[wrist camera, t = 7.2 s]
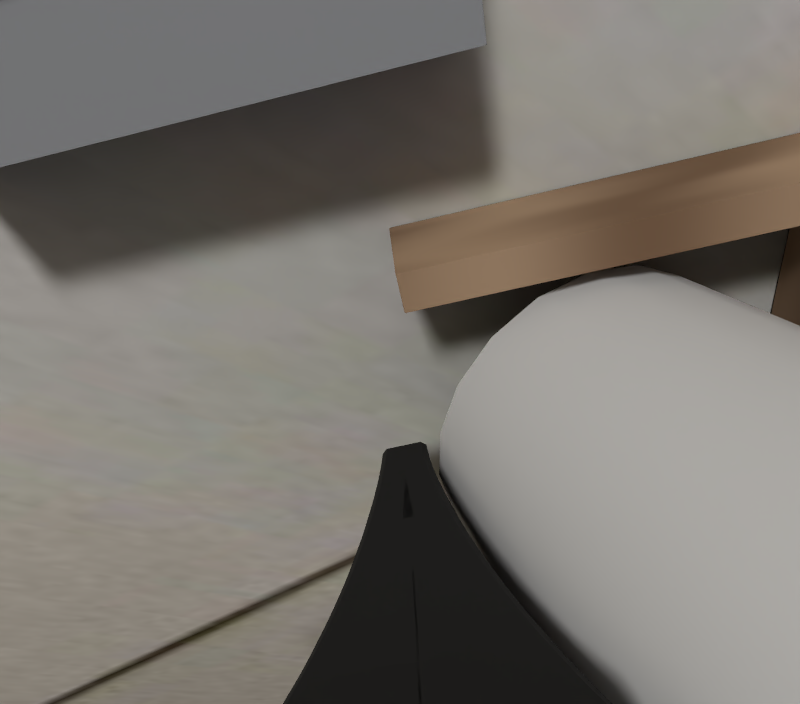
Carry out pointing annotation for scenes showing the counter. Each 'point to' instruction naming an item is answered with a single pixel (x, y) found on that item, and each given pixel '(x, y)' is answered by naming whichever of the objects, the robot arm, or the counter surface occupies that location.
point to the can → (641, 484)
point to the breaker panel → (196, 59)
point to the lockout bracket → (608, 227)
